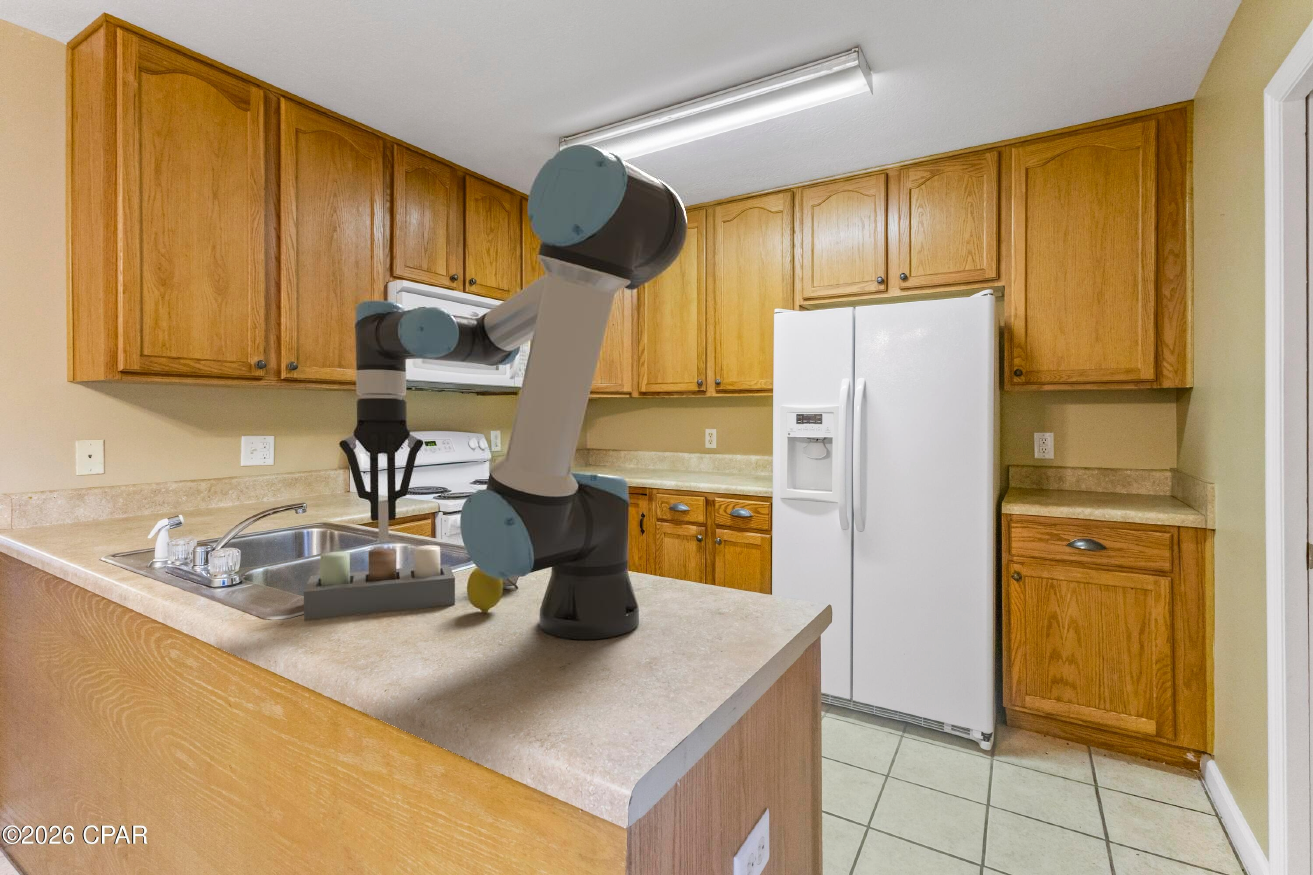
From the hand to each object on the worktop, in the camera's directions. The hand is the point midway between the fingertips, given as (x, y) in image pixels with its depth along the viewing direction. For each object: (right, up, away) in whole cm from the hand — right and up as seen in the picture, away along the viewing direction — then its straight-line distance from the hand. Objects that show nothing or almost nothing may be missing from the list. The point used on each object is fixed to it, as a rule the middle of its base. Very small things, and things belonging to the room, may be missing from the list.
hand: (383, 539), depth 104 cm
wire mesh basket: (+17, -11, +10) cm, 23 cm away
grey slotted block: (0, -11, +1) cm, 11 cm away
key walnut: (0, -9, +1) cm, 9 cm away
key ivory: (+6, -9, +3) cm, 11 cm away
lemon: (+18, -11, -3) cm, 21 cm away
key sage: (-7, -9, -2) cm, 11 cm away
